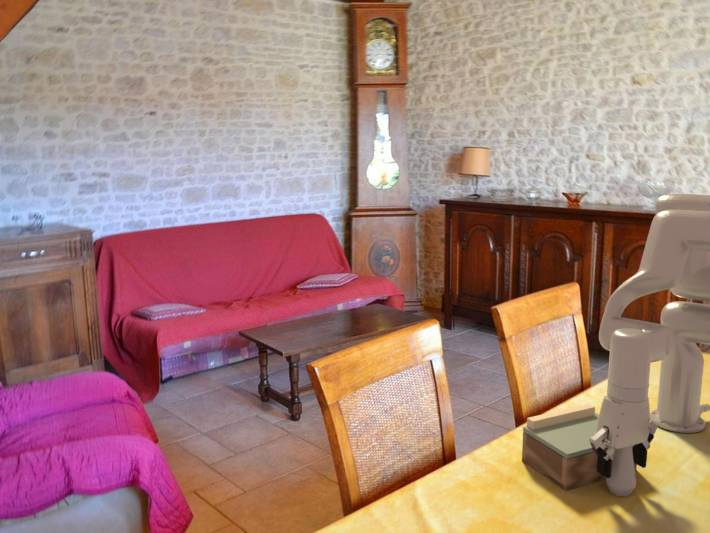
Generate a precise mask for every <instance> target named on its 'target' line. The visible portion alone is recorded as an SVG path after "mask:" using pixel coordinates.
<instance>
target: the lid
mask: <svg viewBox="0 0 710 533" xmlns="http://www.w3.org/2000/svg"><path fill="white" fill-rule="evenodd" d="M598 420H599V414H598V413H596V406H594V405H592V404H590V403H587V404H582V405H581V404H580V405H578V406H573V407H568V408H563V409H561V410H556V411H552V412H547V413H543V414H539V415H534V416H530V417H527V418H526V425H525V426H523V427H522V432H525V433H527V434H528V435H530V436H531V437H533V438H535V439H536V440H538V441H539V442H541V443H543V444H544V445H546V446H547V447H549V448H551V449H552V450H554V451H555V452H557V453H558V454H560V455H562V456H563V457H565V458H566V459H568V458H572V457H576V456H579V455H583V454H587V453H590V452H594V451H593V450H592V446H591V444H590V441H589V440H590V438H592V437H593V436H594V435H595V434H596V433H597V427H598ZM600 443H601V442H600ZM608 443H610V441H608ZM610 444H611V443H610ZM605 448H609V447H608V446H606V447H605ZM605 448H604V449H605Z"/></svg>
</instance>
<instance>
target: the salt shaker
mask: <svg viewBox="0 0 710 533" xmlns="http://www.w3.org/2000/svg"><path fill="white" fill-rule="evenodd" d="M633 446H634V445H632V444H631V445H630V446H628V447H624V448H620V449H615V451H614V452H613V455H612V458H611V460H612V469H611V477H610V478H606V479H605V482H606V485H607V488H608V490H609V492H610V493H612V494H613V495H615V496H616V497H625V498H626V497H628V496H630V495H631V494H632V492H633V491H634V489H635V488H636V486H637V478H636V470H635V469H634V460H633V452H632V447H633Z"/></svg>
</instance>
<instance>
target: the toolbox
mask: <svg viewBox="0 0 710 533" xmlns="http://www.w3.org/2000/svg"><path fill="white" fill-rule="evenodd" d="M521 446H522V450H521V452H522V453H521V454H522V455H521V462H523V463H524V464H526V465H527V466H529V467H530V468H532V469H533V470H534V471H536V472H537V473H539V474H540V475H541V476H543V477H545V478H546V479H547V480H549V481H550V482H552V483H554V484H555V485H556V486H557V487H559V488H560V489H561V490H563V491H565V492H566V491H569V490H572V489H576V488H579V487H582V486H586V485H590V484H594V483H596V482H599V481H603V480H606V477H605V476H603V475H601V474H600V473H598V472H597V460H598V455H597V454H595V452H590V453H587V454H583V455H579V456H576V457H572V458H568V459H566V458H565V457H563V456H562V455H560V454H558V453H557V452H555V451H554V450H552V449H551V448H549V447H547V446H546V445H544V444H543V443H541V442H539V441H538V440H536V439H535V438H533V437H531V436H530V435H528V434H527V433H525V432H524V431H522V445H521ZM607 450H608V448H605V449H604V451H605V452H606V451H607ZM632 451H633V447H632ZM612 455H613V454H612ZM612 455H611V457H610V459H611V458H612ZM637 467H638V465H637V464H635V463H634V469H635V471H637Z"/></svg>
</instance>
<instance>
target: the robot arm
mask: <svg viewBox="0 0 710 533" xmlns="http://www.w3.org/2000/svg"><path fill="white" fill-rule="evenodd" d="M654 214H655V215H654V217H653V219H652V221H651V224H650V228H649V231H648V234H647V238H646V242H645V246H644V248H643V249H644V250H643V254H642V256H641V261H640V264H639V268H638V270H637V272H636V273H635V274H633V276H630V277H629V278H628V279H626V280H625V281H624V282H622V284H620V285H619V286H618V287H617V288H616V289H615V291H613V292H612V294H611V295H610V297H609V298H608V299H607V302H606V304H605V308H604V311H603V315H602V319H601V322H600V326H599V331H598V341H599V343H600V345H601V347H602V348H603V349H605V350H606V351H609V358H608V362H609V363H608V372H607V388H606V395H604V397H603V399H602V401H601V406H600V409H599V414H598V415H599V420H598V427H597V433H596V434H595V435H594V436H593V437H592V438H590V440H589V441H590V444H591V446H592V450H593V451H594V452H595V454H597V455H598V460H597V472H598V473H600V474H601V475H603V476H605V477H606V478H610V477H611V469H612V460H611V459H610V457H611V455H612V454H613V452H614V451H615V449H620V448H624V447H628V446H630V445H631V444H632V445H634V446H633V451H632V452H633V460H634V463H635V464H637V466H638V467H640V468H642V469H644V468H646V467H647V462H648V460H647V459H648V450H649V449H651V443H652V441H653V440H654V439H655V433H656V431H657V429H658V427H659V428H661V429H664V430H667V431H670V432H675V433H684V434H692V433H693V434H694V433H698V432H701V431H703V430H704V429H705V427H706V422H705V419H703V417H701V415H702V414H704V413H706V412H710V404H709V403H704V404H703V403H702V404H701V395H702V384H703V376H704V366H705V365H704V364H705V359H704V355H703V353H702V351H701V349H700V347H699V346H698V345H697V344H703V345H709V346H710V304H705V303H700V302H709V303H710V194H695V193H694V194H693V193H668V194H663V195H661V196H660V197H658V198H657V199H656V201H655V204H654ZM667 290H670V292H671V293H672V295H674V296H676V297H678V298H683V299H686V300H687V299H688V300H693V301H699V303H698V302H693V301H692V302H690V301H681V300H678V301H677V300H675V301H672V302H668V303H666V304H665V306H664V307H663V308H662V310H661V313H660V323H657V322H649V321H644V320H640V319H634V318H628V317H627V318H626V317H622V315H623V313H624V310H625V309H626V308H627V307H628V306H629V305H630V304H631V303H632V302H634V301H635V300H637V299H639V298H641V297H644V296H647V295H651V294H655V293H658V292H662V291H667ZM659 361H660V370H659V384H658V393H657V405H656V406H657V407H656V409H654V410H652V411H651V410H650V408H651V406H650V399H649V387H650V375H651V374H650V373H651V363H655V362H656V363H657V362H659ZM608 441H610V443H611V444H610V443H608ZM600 442H601V443H600ZM606 446H608V447H609V448H608V450H607V451H606V452H605V451H604V448H605V447H606Z"/></svg>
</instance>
